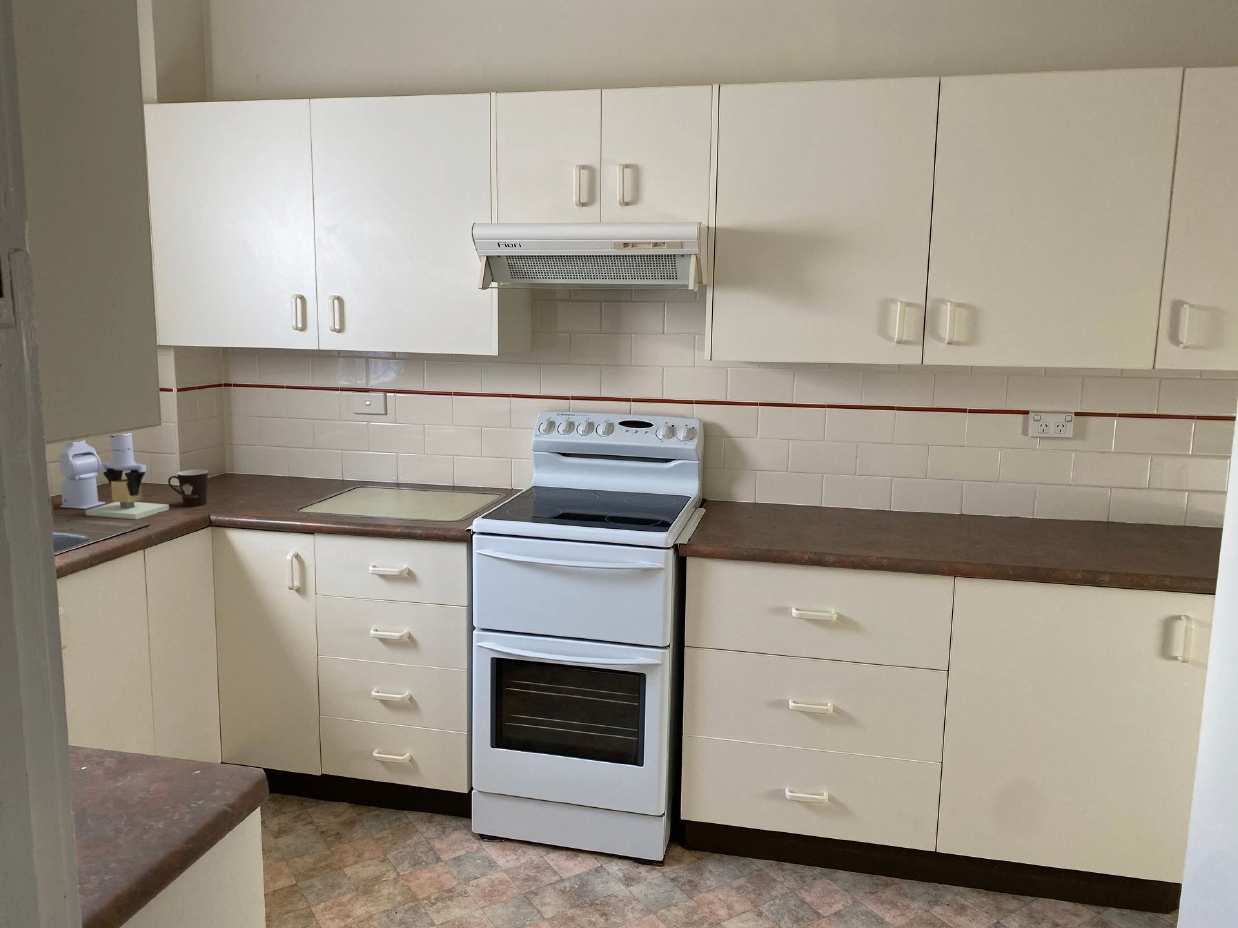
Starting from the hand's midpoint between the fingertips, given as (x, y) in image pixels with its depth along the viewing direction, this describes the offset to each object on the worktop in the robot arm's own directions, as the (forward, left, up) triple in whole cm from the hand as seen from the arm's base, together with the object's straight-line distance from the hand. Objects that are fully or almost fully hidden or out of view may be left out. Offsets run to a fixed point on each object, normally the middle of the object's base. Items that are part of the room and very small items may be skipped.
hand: (126, 494), depth 279 cm
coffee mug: (+10, +15, -6) cm, 19 cm away
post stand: (0, 0, -5) cm, 5 cm away
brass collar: (0, 0, -2) cm, 2 cm away
